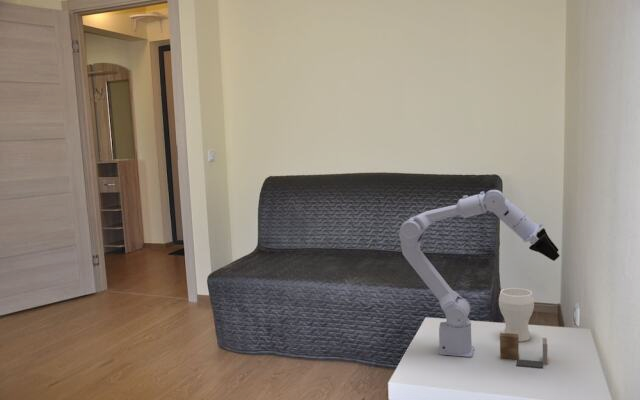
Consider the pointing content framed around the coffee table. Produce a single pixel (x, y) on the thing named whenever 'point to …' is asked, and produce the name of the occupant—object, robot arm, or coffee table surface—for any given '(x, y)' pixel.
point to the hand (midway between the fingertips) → (556, 255)
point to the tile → (545, 352)
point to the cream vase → (516, 311)
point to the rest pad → (529, 363)
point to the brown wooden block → (509, 346)
